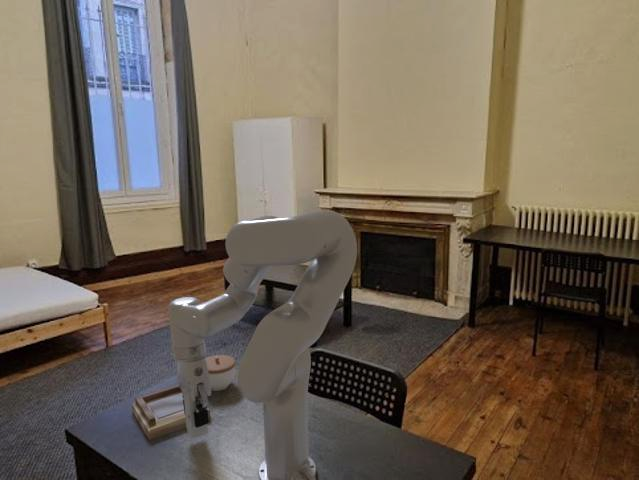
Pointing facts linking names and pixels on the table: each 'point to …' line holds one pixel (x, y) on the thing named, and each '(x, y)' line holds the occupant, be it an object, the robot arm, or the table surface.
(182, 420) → the frame
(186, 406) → the skincare box
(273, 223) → the robot arm
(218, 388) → the lidded jar
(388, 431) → the table surface
